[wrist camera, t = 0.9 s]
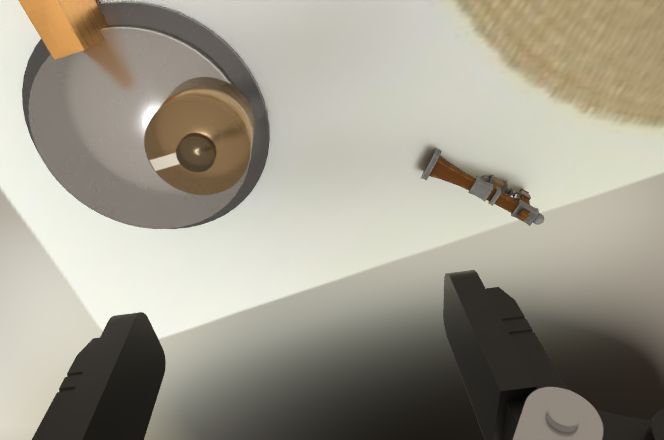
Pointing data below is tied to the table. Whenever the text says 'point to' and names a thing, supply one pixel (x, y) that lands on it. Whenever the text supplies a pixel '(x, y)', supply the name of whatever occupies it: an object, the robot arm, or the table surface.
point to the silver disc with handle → (112, 112)
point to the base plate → (206, 42)
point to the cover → (201, 136)
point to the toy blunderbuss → (485, 189)
